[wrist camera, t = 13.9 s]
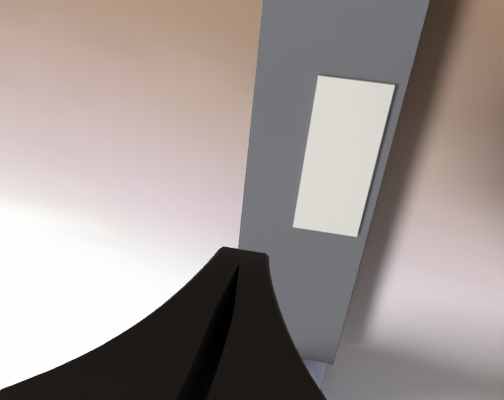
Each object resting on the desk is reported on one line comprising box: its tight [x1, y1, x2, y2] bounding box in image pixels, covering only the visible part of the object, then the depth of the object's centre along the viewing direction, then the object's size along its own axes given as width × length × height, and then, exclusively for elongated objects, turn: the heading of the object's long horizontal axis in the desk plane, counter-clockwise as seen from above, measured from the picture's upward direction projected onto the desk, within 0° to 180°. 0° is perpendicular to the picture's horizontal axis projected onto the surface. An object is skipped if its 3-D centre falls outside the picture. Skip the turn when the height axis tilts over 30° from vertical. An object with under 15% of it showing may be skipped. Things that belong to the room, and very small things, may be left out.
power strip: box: [238, 0, 430, 364], centre depth 19 cm, size 24×6×2 cm, turn 174°
